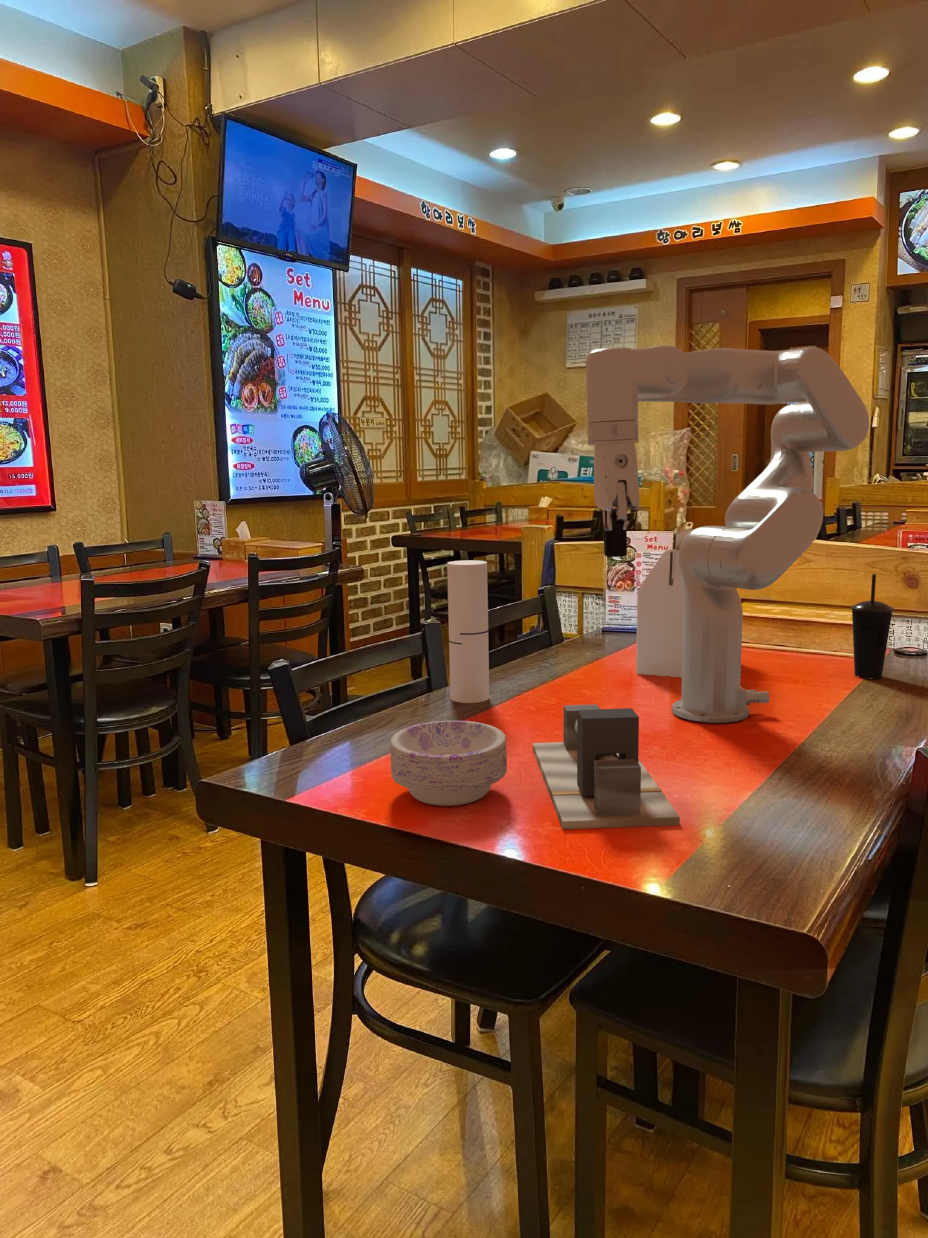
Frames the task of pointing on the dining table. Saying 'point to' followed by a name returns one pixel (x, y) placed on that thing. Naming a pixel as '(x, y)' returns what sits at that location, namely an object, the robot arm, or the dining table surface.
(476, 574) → the cylindrical container
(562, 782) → the pipe rig
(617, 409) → the robot arm
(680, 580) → the gable box
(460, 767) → the paper bowls
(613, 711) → the collar
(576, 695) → the dining table surface
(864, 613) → the drinking cup
